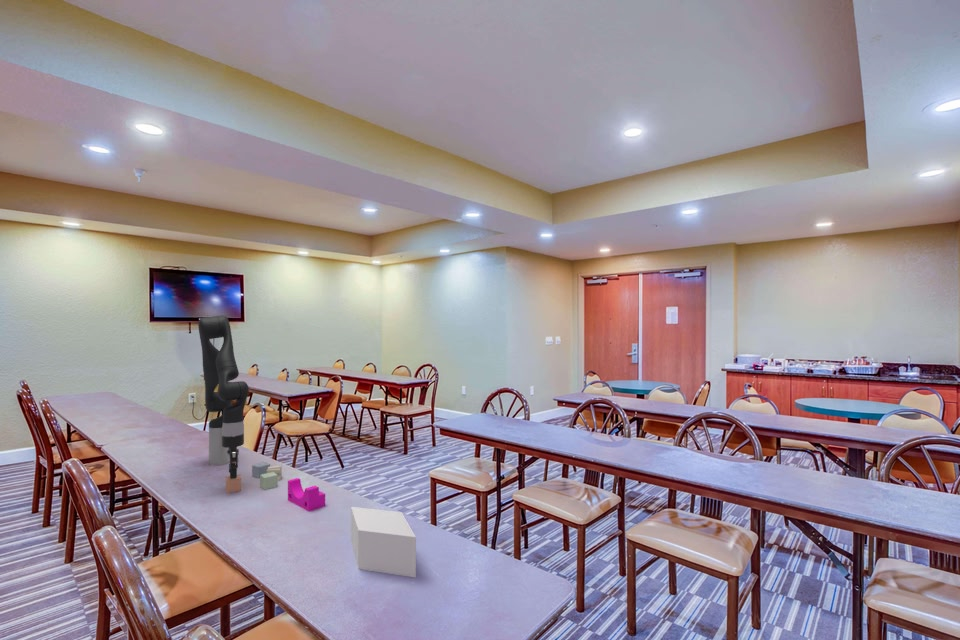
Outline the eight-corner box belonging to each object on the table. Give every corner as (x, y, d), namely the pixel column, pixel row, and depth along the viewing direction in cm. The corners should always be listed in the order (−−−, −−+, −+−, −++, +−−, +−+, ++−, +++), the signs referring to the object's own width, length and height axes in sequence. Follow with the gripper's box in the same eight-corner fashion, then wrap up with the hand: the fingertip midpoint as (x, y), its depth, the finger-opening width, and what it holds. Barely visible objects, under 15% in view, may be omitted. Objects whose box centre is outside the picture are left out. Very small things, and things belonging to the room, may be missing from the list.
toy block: (325, 506, 155) (325, 485, 155) (308, 512, 150) (308, 490, 151) (303, 496, 165) (304, 476, 165) (287, 501, 160) (287, 480, 160)
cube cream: (268, 478, 183) (268, 466, 183) (281, 477, 185) (281, 465, 185) (266, 482, 179) (266, 470, 179) (279, 481, 180) (280, 469, 180)
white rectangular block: (371, 532, 135) (371, 499, 136) (436, 565, 117) (436, 527, 117) (328, 551, 124) (328, 514, 125) (393, 591, 106) (393, 548, 106)
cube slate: (252, 477, 186) (252, 465, 186) (263, 473, 190) (263, 462, 190) (258, 479, 183) (259, 467, 183) (270, 475, 187) (270, 464, 187)
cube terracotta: (225, 489, 171) (225, 477, 171) (240, 487, 174) (240, 474, 174) (226, 493, 167) (226, 480, 167) (241, 491, 170) (241, 478, 170)
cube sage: (260, 487, 174) (260, 474, 174) (273, 484, 177) (273, 471, 177) (264, 490, 170) (264, 478, 170) (277, 487, 173) (277, 475, 173)
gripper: (221, 431, 174) (220, 472, 174) (222, 438, 162) (222, 482, 162) (242, 428, 178) (242, 468, 178) (245, 435, 166) (245, 478, 166)
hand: (232, 475), depth 170 cm, fingers open, 8 cm apart
